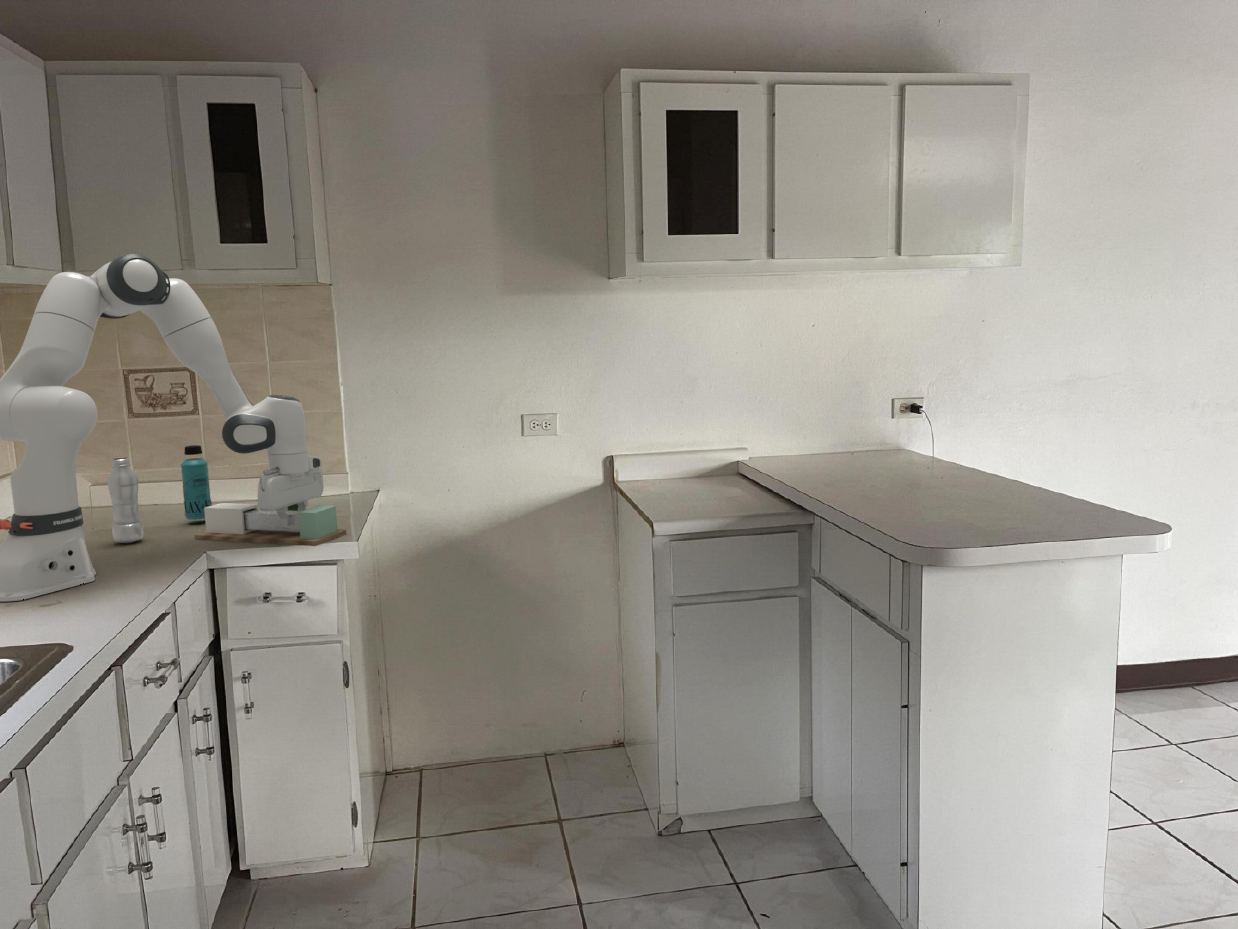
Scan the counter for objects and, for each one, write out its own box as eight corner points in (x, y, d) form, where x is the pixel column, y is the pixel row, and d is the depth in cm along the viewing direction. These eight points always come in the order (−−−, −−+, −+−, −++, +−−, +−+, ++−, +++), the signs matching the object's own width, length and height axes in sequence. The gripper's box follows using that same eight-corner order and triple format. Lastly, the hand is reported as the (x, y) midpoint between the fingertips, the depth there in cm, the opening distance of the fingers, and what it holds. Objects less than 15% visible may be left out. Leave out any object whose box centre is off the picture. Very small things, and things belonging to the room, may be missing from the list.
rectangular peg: (242, 529, 224) (240, 512, 224) (253, 525, 228) (252, 509, 227) (312, 532, 218) (311, 515, 218) (323, 528, 222) (321, 512, 221)
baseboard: (194, 539, 224) (194, 535, 224) (229, 528, 235) (229, 524, 235) (316, 545, 214) (315, 541, 214) (346, 533, 225) (345, 529, 225)
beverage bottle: (180, 524, 241) (172, 446, 238) (202, 519, 247) (194, 443, 244) (197, 526, 238) (189, 447, 235) (219, 521, 244) (212, 444, 241)
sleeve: (206, 532, 226) (204, 507, 225) (223, 526, 232) (221, 502, 231) (243, 534, 223) (241, 509, 222) (260, 528, 229) (257, 504, 228)
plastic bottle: (106, 545, 220) (97, 460, 217) (131, 538, 227) (122, 455, 223) (127, 546, 218) (117, 461, 215) (151, 540, 224) (142, 456, 221)
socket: (300, 538, 217) (298, 512, 216) (321, 530, 225) (319, 505, 224) (317, 539, 216) (315, 512, 215) (337, 531, 223) (335, 506, 222)
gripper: (271, 472, 209) (276, 533, 211) (326, 458, 228) (330, 514, 230) (247, 471, 211) (253, 531, 213) (304, 457, 230) (308, 513, 232)
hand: (293, 522), depth 222 cm, fingers closed on rectangular peg, 4 cm apart
